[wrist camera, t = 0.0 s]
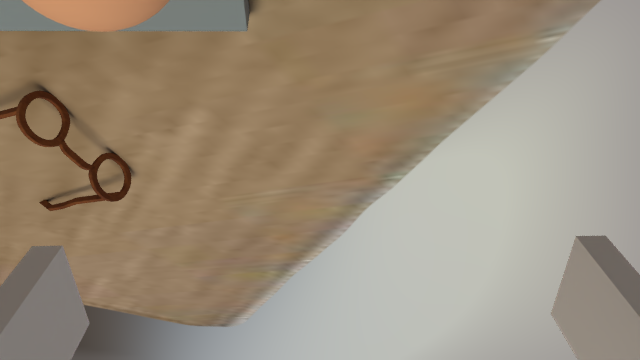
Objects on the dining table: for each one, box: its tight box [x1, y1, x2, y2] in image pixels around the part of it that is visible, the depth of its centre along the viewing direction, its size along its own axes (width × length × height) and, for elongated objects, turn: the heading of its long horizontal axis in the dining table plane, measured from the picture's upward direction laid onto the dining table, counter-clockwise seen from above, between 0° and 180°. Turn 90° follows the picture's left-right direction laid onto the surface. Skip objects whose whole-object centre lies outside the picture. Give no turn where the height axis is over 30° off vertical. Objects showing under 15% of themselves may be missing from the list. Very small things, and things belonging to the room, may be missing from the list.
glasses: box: [0, 91, 131, 211], centre depth 47 cm, size 13×13×5 cm
